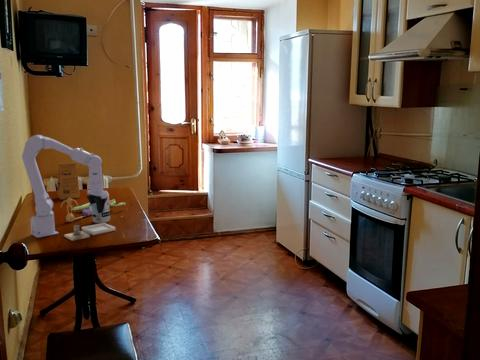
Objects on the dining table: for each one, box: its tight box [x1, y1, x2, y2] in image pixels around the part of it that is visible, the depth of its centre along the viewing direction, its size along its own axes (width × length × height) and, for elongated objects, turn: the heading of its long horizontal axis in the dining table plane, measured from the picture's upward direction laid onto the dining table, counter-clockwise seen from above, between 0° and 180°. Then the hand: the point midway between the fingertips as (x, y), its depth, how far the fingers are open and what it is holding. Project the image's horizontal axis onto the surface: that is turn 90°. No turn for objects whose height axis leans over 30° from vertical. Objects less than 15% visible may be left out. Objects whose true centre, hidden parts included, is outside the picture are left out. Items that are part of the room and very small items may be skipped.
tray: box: [81, 222, 116, 236], centre depth 210 cm, size 11×11×2 cm
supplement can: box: [92, 189, 111, 224], centre depth 225 cm, size 8×8×15 cm
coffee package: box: [56, 161, 80, 201], centre depth 280 cm, size 10×12×22 cm
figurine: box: [60, 197, 80, 223], centre depth 225 cm, size 8×6×12 cm
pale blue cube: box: [89, 203, 105, 215], centre depth 208 cm, size 5×6×4 cm
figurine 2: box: [72, 198, 127, 216], centre depth 248 cm, size 18×27×6 cm
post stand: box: [63, 224, 91, 242], centre depth 200 cm, size 8×8×5 cm
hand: (97, 211), depth 208 cm, fingers closed on pale blue cube, 5 cm apart
